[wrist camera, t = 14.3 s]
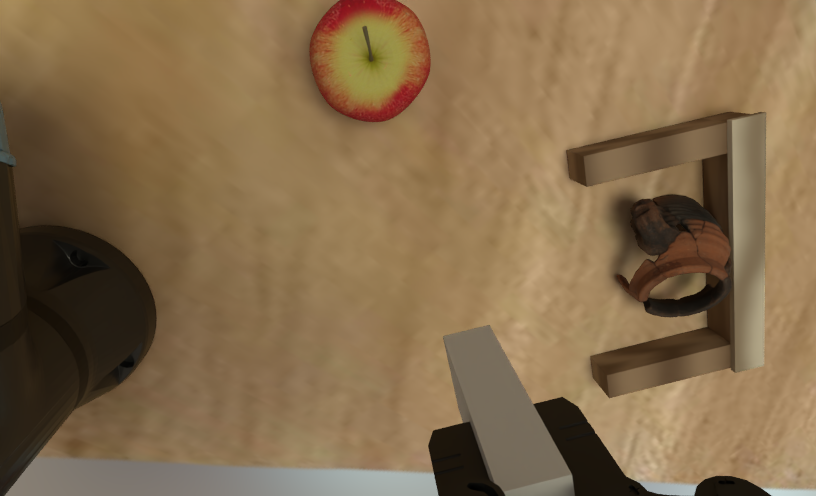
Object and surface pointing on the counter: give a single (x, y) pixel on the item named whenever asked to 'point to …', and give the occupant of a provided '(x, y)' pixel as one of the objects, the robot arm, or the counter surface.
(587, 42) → the counter surface
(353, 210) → the counter surface
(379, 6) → the apple
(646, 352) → the walnut pocket
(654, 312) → the brown broken pot
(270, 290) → the counter surface
